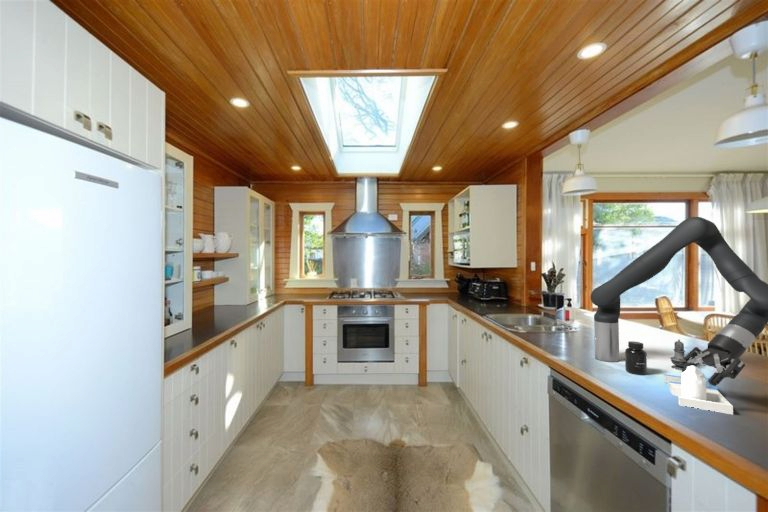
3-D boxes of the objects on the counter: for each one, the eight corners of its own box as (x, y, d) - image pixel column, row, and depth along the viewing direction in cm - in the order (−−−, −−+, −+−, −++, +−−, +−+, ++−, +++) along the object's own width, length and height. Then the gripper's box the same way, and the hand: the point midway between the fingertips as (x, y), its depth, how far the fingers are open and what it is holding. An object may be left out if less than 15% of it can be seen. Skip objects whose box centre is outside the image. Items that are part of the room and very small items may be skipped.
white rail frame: (679, 405, 101) (679, 394, 101) (664, 381, 121) (664, 372, 121) (734, 414, 95) (733, 402, 95) (708, 387, 114) (708, 377, 114)
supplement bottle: (641, 376, 126) (640, 345, 126) (622, 371, 132) (621, 341, 132) (650, 373, 129) (649, 343, 129) (631, 368, 135) (630, 339, 135)
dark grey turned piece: (693, 370, 131) (692, 341, 131) (676, 370, 132) (675, 340, 133) (682, 366, 137) (682, 337, 137) (666, 365, 138) (666, 337, 138)
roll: (700, 363, 105) (710, 368, 99) (700, 400, 105) (711, 407, 99) (676, 361, 107) (685, 366, 101) (677, 397, 107) (686, 405, 101)
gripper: (700, 329, 110) (668, 363, 110) (748, 339, 96) (711, 378, 96) (716, 344, 111) (684, 378, 110) (766, 356, 96) (729, 396, 96)
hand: (697, 378), depth 103 cm, fingers open, 8 cm apart
